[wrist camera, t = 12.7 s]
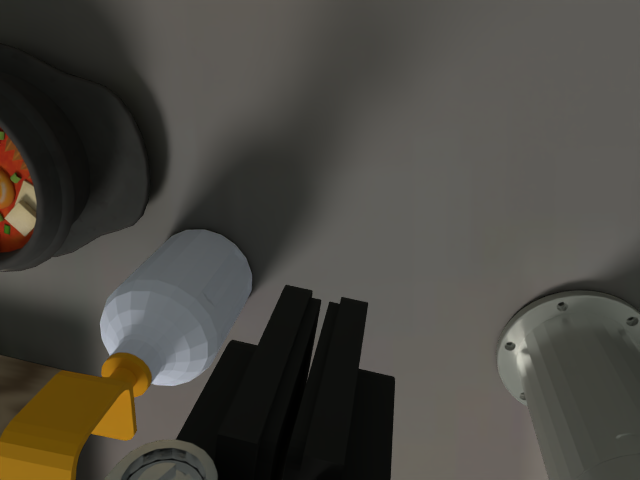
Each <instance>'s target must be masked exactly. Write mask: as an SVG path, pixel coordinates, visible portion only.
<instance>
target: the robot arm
mask: <svg viewBox="0 0 640 480" xmlns="http://www.w3.org/2000/svg"><path fill="white" fill-rule="evenodd" d="M561 302H562V303H561ZM320 306H321V300H320V299H315V298H312V290H308V289H303V288H299V287H294V286H289V285H285V287H284V289H283V291H282V293H281V296H280V298H279V300H278V302H277V304H276V307H275V309H274V311H273V313H272V315H271V317H270V320H269V322H268V324H267V326H266V328H265V331H264V333H263V335H262V337H261V339H260V342H259V344H258V346H257V345H253V344H249V343H244V342H240V341H236V340H232V341H230V342H229V344H228V345H227V347H226V349H225V350H224V352H223V354H222V356H221V358H220V360H219V361H218V363H217V365H216V367H215V369H214V371H213V372H212V374H211V376H210V378H209V380H208V382H207V383H206V385H205V387H204V389H203V391H202V393H201V394H200V396H199V398H198V400H197V402H196V404H195V405H194V407H193V409H192V411H191V413H190V415H189V416H188V418H187V420H186V422H185V424H184V426H183V427H182V429H181V431H180V433H179V435H178V437H177V438H176V440H159V441H155V442H151V443H148V444H145V445H143V446H141V447H139V448H137V449H135V450H133V451H131V452H130V453H129V454H128V455H126V456H125V457H124V458H123V459H122V460H121V461H120V462H119V463H118V464H117V465H116V466H115V467H114V468H113V470H112V471H111V472H110V473H109V474H108V475H107V477H106V478H105V479H104V480H390V479H391V458H392V436H393V415H394V393H395V378H394V377H393V376H388V375H384V374H379V373H375V372H371V371H366V370H362V369H359V362H360V355H361V348H362V342H363V335H364V328H365V322H366V315H367V308H368V303H367V302H363V301H358V300H354V299H349V298H344V297H341V301H340V304H338V303H333V302H329V305H328V309H327V312H326V316H325V319H324V323H323V327H322V330H321V334H320V337H319V341H318V344H317V348H316V351H315V355H314V359H313V362H312V366H311V369H310V373H309V376H308V372H309V367H310V361H311V356H312V350H313V345H314V339H315V333H316V328H317V322H318V317H319V311H320ZM496 360H497V366H498V371H499V375H500V377H501V379H502V382H503V384H504V386H505V387H506V388H507V390H508V391H509V392H510V394H511V395H512V396H513V397H514V398H516V399H517V400H518V401H519V402H520V403H522V404H524V405H525V406H527V407H528V409H529V412H530V416H531V419H532V423H533V426H534V430H535V433H536V437H537V440H538V444H539V447H540V451H541V454H542V457H543V461H544V464H545V468H546V471H547V475H548V478H549V480H640V312H639V311H638V310H637V309H636V308H635V307H633V306H632V305H630V304H628V303H627V302H625V301H624V300H622V299H619V298H617V297H614V296H612V295H609V294H605V293H600V292H596V291H582V290H576V291H567V292H560V293H556V294H552V295H549V296H546V297H543V298H541V299H539V300H537V301H534V302H532V303H531V304H529V305H528V306H526V307H525V308H523V309H521V310H520V311H519V312H518V313H517V314H516V315H515V316H514V317H513V318H512V319H511V320H510V321H509V322H508V324H507V325H506V326H505V328H504V329H503V331H502V333H501V336H500V338H499V340H498V345H497V350H496ZM307 378H308V380H307ZM306 383H307V384H306Z"/></svg>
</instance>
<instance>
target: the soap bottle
mask: <svg viewBox="0 0 640 480" xmlns="http://www.w3.org/2000/svg"><path fill="white" fill-rule="evenodd" d="M251 291H252V273H251V270H250V267H249V264H248V261H247V258H246V257H245V256H244V255H243V253H242V252H241V251H240V249H239V248H238V247H237V246H236V244H234V243H233V242H231V241H230V240H228V239H227V238H225V237H224V236H223V235H221V234H218V233H214V232H211V231H208V230H205V229H200V230H185V231H182V232H180V233H177V234H175V235H172V236H171V237H170V238H169V239H168V240H167V241H166V242H165V243H164V244H163V245H162V246H161V247H160V248H159V249H157V250H156V251H155V252H154V253H153V254H152V255H151V256H150V257H149V258H148V259H147V260H146V261H145V262H144V263H143V264H142V265H141V266H140V267H139V268H138V269H137V270H136V271H134V272H133V273H132V274H131V275H130V276H129V277H128V278H127V279H126V280H125V281H124V282H123V283H122V284H121V285H120V286H119V287H118V288H117V289H116V290H115V291H114V292H113V293H112V294H111V295H110V296H109V297H108V298H107V301H106V304H105V308H104V311H103V314H102V317H101V321H100V329H101V337H102V341H103V343H104V345H105V347H106V349H107V351H108V353H109V355H110V356H109V358H108V359H107V361H106V362H105V363H104V364H103V366H102V372H101V374H102V377H97V376H92V375H86V374H81V373H75V372H70V371H65V370H61V371H60V372H58V373H57V374H56V375H55V376H54V377H53V378H52V379H51V380H50V381H49V382H48V383H47V384H46V385H45V386H44V387H43V388H42V389H41V390H40V391H39V392H38V393H37V394H36V395H35V396H34V397H33V398H32V399H31V400H30V401H29V402H28V403H27V405H26V406H25V407H24V408H23V409H22V410H21V411H20V412H19V413H18V414H17V415H16V416H15V417H14V418H13V419H12V420H11V421H10V423H9V424H8V425H7V427H6V428H5V429H4V431H3V433H2V435H1V438H0V480H76V468H77V463H78V458H79V455H80V452H81V450H82V448H83V446H84V444H85V442H86V440H87V439H88V437H89V435H90V434H94V435H99V436H104V437H110V438H115V439H120V440H125V441H126V440H130V439H132V437H133V436H134V434H135V433H136V431H137V426H136V416H135V405H134V397H137V396H140V395H142V394H143V393H144V392H145V391H146V390H147V388H148V387H149V386H150V385H151V384H155V385H167V386H175V385H178V384H182V383H185V382H189V381H191V380H192V379H194V378H196V377H197V376H199V375H200V374H201V373H202V372H203V371H205V370H206V369H207V368H208V367H210V366H211V364H212V362H213V360H214V358H215V357H216V355H217V353H218V351H219V350H220V348H221V346H222V344H223V342H224V341H225V339H226V337H227V335H228V334H229V332H230V330H231V328H232V326H233V325H234V323H235V321H236V319H237V318H238V316H239V314H240V312H241V310H242V309H243V307H244V305H245V303H246V301H247V299H248V297H249V295H250V293H251Z"/></svg>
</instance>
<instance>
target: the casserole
mask: <svg viewBox="0 0 640 480" xmlns="http://www.w3.org/2000/svg"><path fill="white" fill-rule="evenodd" d="M149 191H150V170H149V159H148V156H147V152H146V148H145V145H144V141H143V137H142V135H141V133H140V131H139V129H138V126H137V124H136V122H135V120H134V118H133V116H132V114H131V113H130V111H129V110H128V109H127V107H126V106H125V104H124V103H123V101H122V100H121V99H120V98H119V97H118V96H117V95H115V94H114V93H113V92H112V91H111V90H109V89H108V88H107V87H106V86H103V85H100V84H97V83H95V82H92V81H89V80H86V79H83V78H80V77H77V76H73V75H70V74H67V73H63V72H62V71H60V70H58V69H56V68H54V67H52V66H50V65H48V64H47V63H45V62H43V61H41V60H39V59H37V58H35V57H33V56H32V55H30V54H28V53H26V52H24V51H22V50H20V49H17V48H13V47H10V46H7V45H3V44H0V271H1V272H9V271H22V270H26V269H29V268H33V267H36V266H38V265H40V264H41V263H43V262H45V261H47V260H48V259H50V258H51V257H58V256H61V255H65V254H68V253H72V252H74V251H76V250H78V249H79V248H81V247H83V246H84V245H86V244H88V243H90V242H91V241H93V240H95V239H96V238H98V237H100V236H102V235H105V234H109V233H112V232H116V231H119V230H122V229H124V228H127V227H130V226H133V225H134V224H135V223H136V222H137V221H138V220H139V219H140V218H141V217H142V216H143V214H144V211H145V209H146V206H147V203H148V200H149Z"/></svg>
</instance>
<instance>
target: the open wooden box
mask: <svg viewBox="0 0 640 480" xmlns="http://www.w3.org/2000/svg"><path fill="white" fill-rule="evenodd" d="M60 371H61V369H57V368H53V367H49V366H44V365H40V364H36V363H32V362H28V361H24V360H19V359H15V358H11V357H7V356H3V355H0V438H1V435H2V433H3V431H4V429H5V428H6V427H7V425H8V424H9V423H10V421H11V420H12V419H13V418H14V417H15V416H16V415H17V414H18V413H19V412H20V411H21V410H22V409H23V408H24V407H25V406H26V405H27V403H28V402H29V401H30V400H31V399H32V398H33V397H34V396H35V395H36V394H37V393H38V392H39V391H40V390H41V389H42V388H43V387H44V386H45V385H46V384H47V383H48V382H49V381H50V380H51V379H52V378H53V377H54V376H55V375H56V374H57V373H58V372H60Z"/></svg>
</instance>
